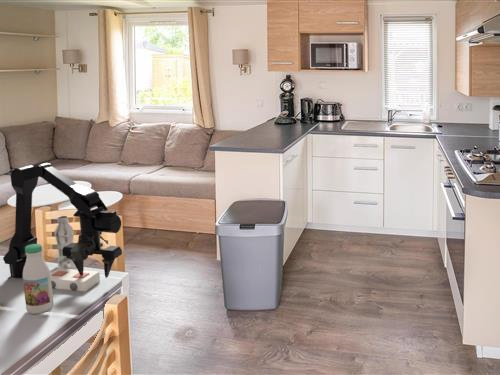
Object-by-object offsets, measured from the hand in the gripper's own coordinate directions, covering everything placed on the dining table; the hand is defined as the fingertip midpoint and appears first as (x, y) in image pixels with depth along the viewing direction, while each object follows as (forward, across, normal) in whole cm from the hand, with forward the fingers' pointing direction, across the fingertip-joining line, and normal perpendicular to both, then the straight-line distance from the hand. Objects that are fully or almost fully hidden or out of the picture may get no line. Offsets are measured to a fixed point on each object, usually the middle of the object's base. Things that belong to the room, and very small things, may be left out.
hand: (94, 276), depth 178 cm
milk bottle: (+4, -8, -18) cm, 20 cm away
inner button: (+2, -13, 0) cm, 13 cm away
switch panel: (+4, -9, 0) cm, 10 cm away
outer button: (+2, -5, 0) cm, 5 cm away
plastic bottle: (+4, -18, +12) cm, 22 cm away
